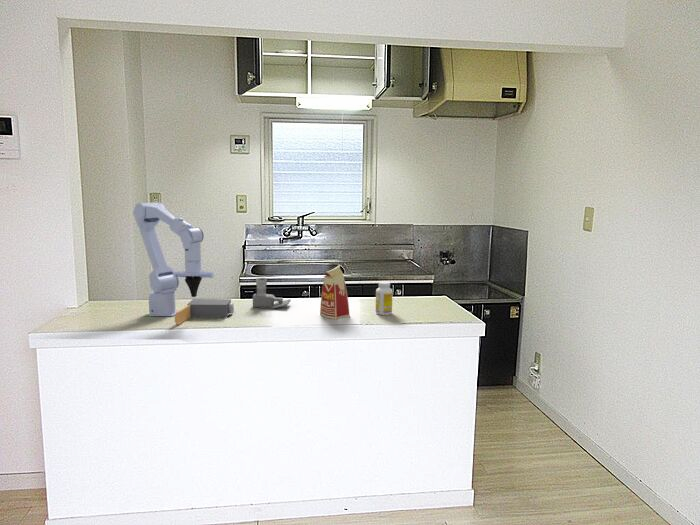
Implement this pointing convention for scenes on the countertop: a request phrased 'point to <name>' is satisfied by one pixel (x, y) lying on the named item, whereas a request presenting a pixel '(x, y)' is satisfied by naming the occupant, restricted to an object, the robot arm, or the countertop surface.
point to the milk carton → (334, 295)
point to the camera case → (211, 307)
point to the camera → (266, 296)
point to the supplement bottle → (384, 298)
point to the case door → (183, 315)
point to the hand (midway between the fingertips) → (194, 296)
